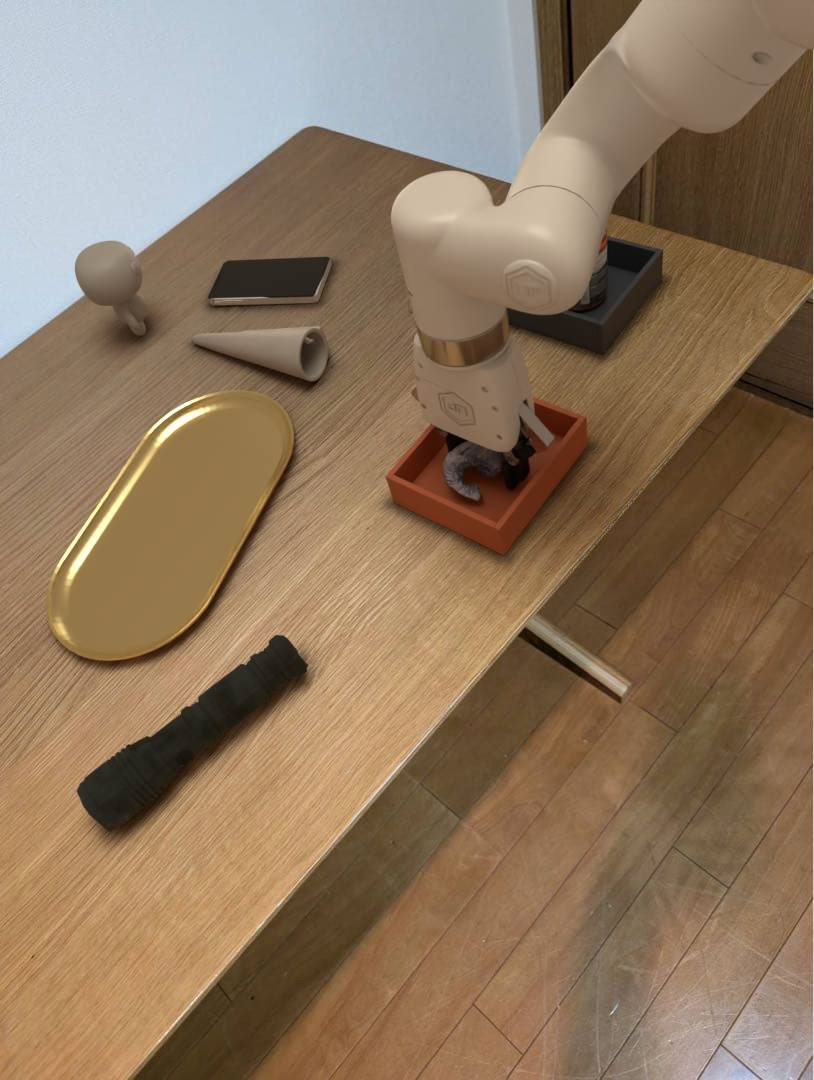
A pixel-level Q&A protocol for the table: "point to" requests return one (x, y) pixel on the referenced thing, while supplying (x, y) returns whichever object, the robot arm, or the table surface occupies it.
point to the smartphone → (270, 281)
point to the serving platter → (169, 526)
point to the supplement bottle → (595, 282)
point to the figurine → (113, 281)
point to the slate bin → (627, 290)
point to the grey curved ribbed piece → (467, 457)
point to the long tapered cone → (274, 349)
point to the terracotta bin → (487, 482)
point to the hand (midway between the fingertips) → (489, 466)
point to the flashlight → (186, 736)
